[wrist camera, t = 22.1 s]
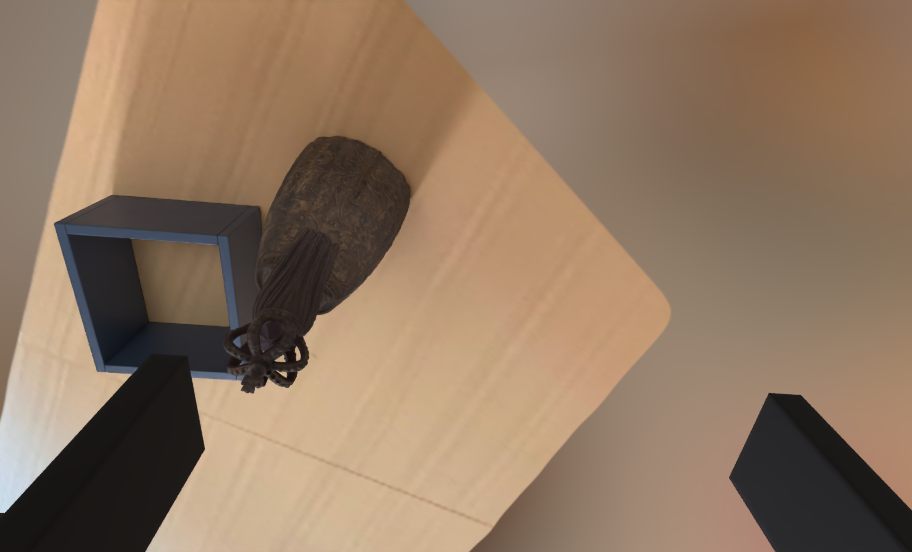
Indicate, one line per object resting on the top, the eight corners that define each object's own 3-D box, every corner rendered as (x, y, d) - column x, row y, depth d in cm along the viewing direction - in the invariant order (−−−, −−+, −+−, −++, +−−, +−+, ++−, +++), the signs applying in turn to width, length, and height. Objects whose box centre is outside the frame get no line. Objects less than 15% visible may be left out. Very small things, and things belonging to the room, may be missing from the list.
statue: (317, 223, 44) (181, 426, 22) (298, 137, 40) (113, 271, 18) (414, 216, 44) (378, 412, 21) (403, 128, 40) (346, 252, 18)
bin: (260, 206, 43) (228, 236, 37) (272, 336, 49) (246, 381, 43) (111, 194, 42) (52, 223, 36) (142, 327, 48) (96, 372, 42)
